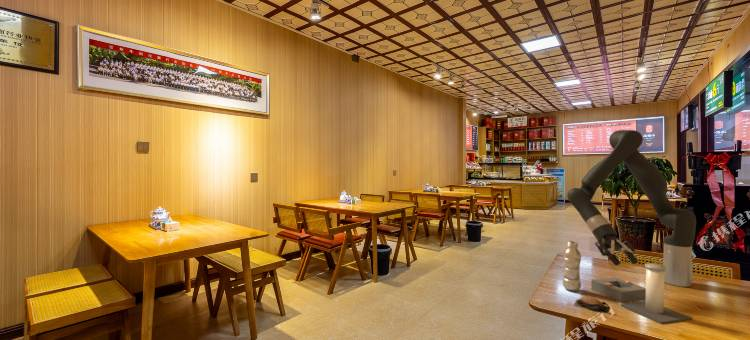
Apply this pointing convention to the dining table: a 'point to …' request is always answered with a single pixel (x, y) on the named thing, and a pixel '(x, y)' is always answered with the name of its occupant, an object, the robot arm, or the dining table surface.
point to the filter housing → (619, 289)
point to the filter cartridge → (654, 288)
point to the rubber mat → (663, 318)
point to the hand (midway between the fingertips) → (627, 263)
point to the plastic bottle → (572, 267)
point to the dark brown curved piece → (592, 304)
